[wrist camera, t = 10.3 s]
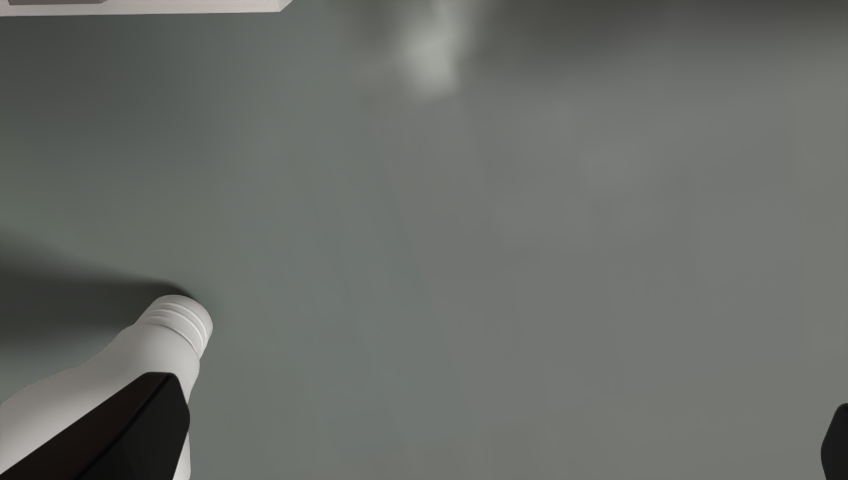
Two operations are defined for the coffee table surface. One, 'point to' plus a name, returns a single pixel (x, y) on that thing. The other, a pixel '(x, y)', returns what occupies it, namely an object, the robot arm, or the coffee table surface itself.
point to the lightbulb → (109, 377)
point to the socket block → (135, 7)
